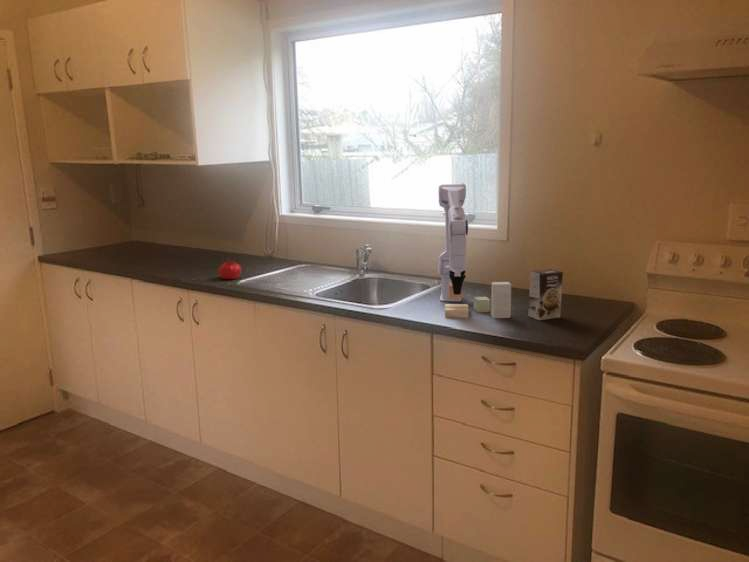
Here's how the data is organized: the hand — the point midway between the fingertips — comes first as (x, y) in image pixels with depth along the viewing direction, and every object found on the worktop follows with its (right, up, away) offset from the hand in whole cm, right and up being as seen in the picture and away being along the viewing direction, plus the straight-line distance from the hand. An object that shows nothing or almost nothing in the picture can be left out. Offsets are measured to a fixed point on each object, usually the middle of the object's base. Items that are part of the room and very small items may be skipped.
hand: (456, 292), depth 216 cm
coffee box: (+30, -9, -3) cm, 31 cm away
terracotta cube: (0, -2, 0) cm, 2 cm away
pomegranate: (-94, +5, +64) cm, 114 cm away
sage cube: (+10, -7, +7) cm, 13 cm away
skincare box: (+15, -9, -2) cm, 17 cm away
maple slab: (0, -8, +2) cm, 8 cm away
